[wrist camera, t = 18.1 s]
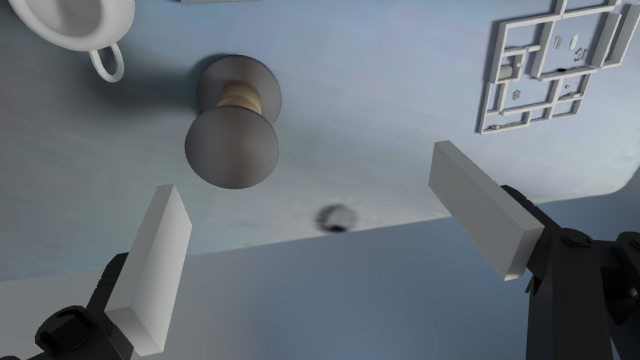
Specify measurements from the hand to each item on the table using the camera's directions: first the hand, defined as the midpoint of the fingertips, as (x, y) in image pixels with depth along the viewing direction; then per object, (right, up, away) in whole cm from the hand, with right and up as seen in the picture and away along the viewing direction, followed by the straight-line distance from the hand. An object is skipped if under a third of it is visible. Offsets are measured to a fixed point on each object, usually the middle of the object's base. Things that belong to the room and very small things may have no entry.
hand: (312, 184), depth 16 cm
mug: (-22, +18, +17) cm, 33 cm away
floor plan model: (+32, +20, +26) cm, 46 cm away
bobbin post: (-10, +11, +24) cm, 28 cm away
